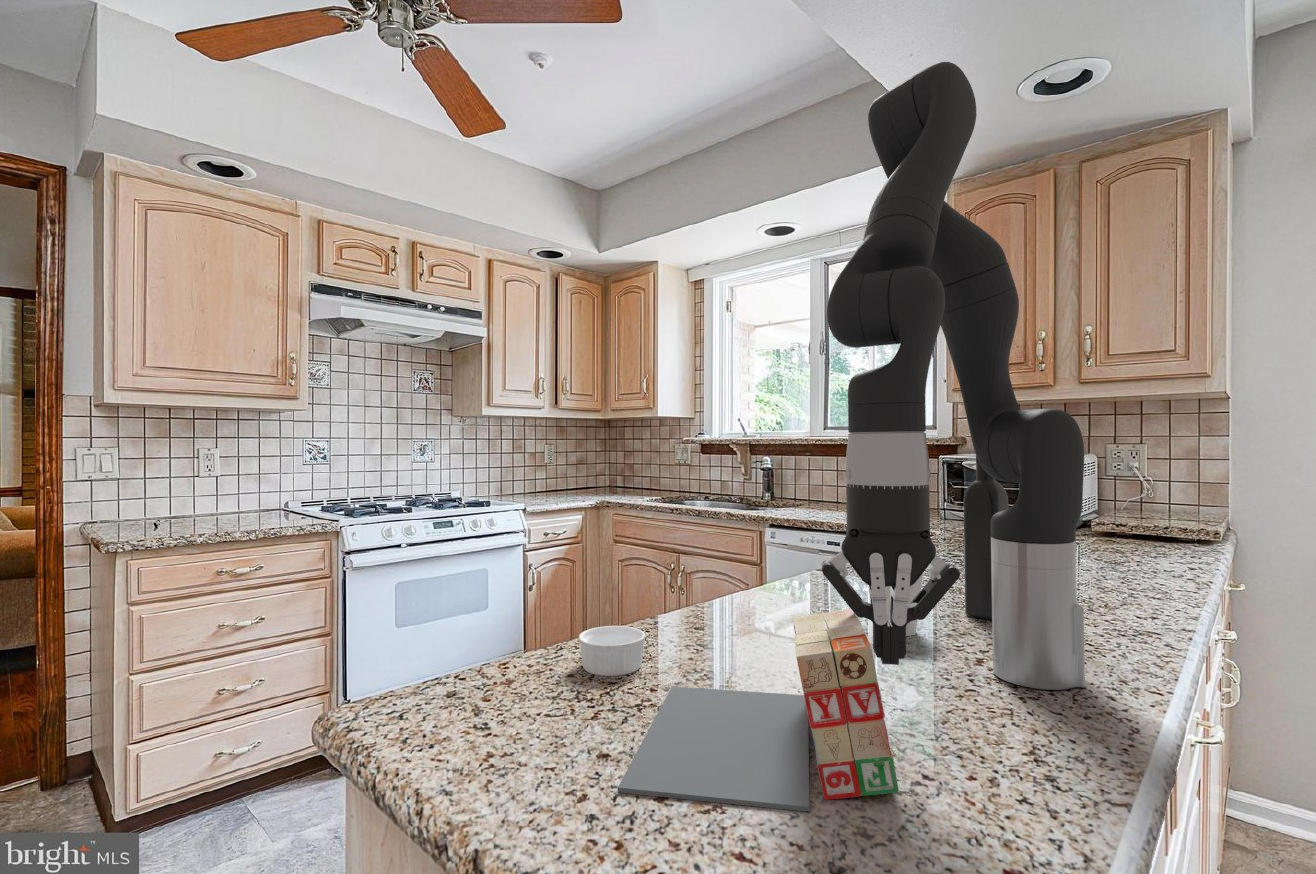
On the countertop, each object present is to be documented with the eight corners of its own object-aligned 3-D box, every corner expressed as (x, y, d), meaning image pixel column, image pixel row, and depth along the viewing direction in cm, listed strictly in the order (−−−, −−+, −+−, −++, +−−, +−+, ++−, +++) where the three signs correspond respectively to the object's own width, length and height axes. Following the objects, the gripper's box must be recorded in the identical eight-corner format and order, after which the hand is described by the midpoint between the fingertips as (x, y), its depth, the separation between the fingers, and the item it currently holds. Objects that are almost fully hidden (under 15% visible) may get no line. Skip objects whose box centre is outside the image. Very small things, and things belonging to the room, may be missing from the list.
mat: (808, 699, 77) (807, 695, 77) (809, 811, 54) (809, 807, 54) (672, 689, 81) (671, 686, 81) (617, 792, 57) (617, 787, 57)
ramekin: (659, 665, 90) (658, 633, 90) (610, 684, 83) (610, 649, 84) (613, 652, 96) (613, 622, 96) (565, 668, 90) (564, 635, 90)
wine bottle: (1012, 616, 112) (1009, 436, 112) (998, 622, 108) (995, 436, 108) (977, 610, 116) (975, 436, 116) (962, 616, 112) (959, 436, 113)
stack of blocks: (810, 702, 77) (789, 595, 77) (866, 695, 76) (844, 587, 76) (824, 801, 56) (794, 654, 56) (901, 793, 55) (871, 643, 55)
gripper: (952, 478, 66) (954, 653, 66) (815, 477, 69) (816, 646, 69) (971, 482, 59) (973, 680, 59) (816, 482, 62) (819, 671, 62)
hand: (889, 661), depth 64 cm, fingers closed
